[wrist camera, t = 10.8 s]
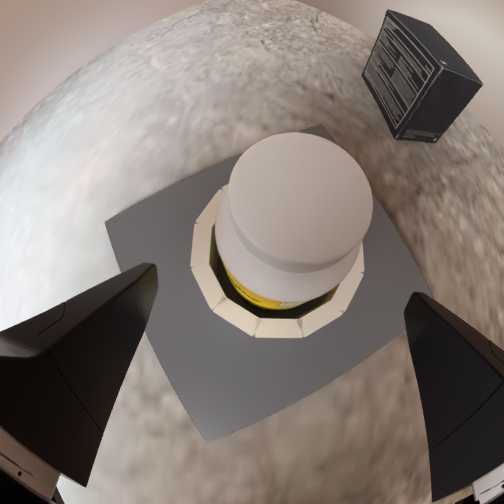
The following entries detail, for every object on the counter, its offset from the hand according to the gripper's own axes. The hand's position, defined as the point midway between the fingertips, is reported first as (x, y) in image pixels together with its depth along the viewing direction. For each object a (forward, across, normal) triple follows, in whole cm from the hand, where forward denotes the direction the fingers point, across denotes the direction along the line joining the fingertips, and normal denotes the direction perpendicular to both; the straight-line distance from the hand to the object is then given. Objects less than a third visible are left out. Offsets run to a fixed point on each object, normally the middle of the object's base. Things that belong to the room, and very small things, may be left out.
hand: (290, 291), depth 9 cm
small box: (+24, -13, -9) cm, 29 cm away
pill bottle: (+9, 0, +5) cm, 10 cm away
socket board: (+10, 0, +5) cm, 11 cm away
